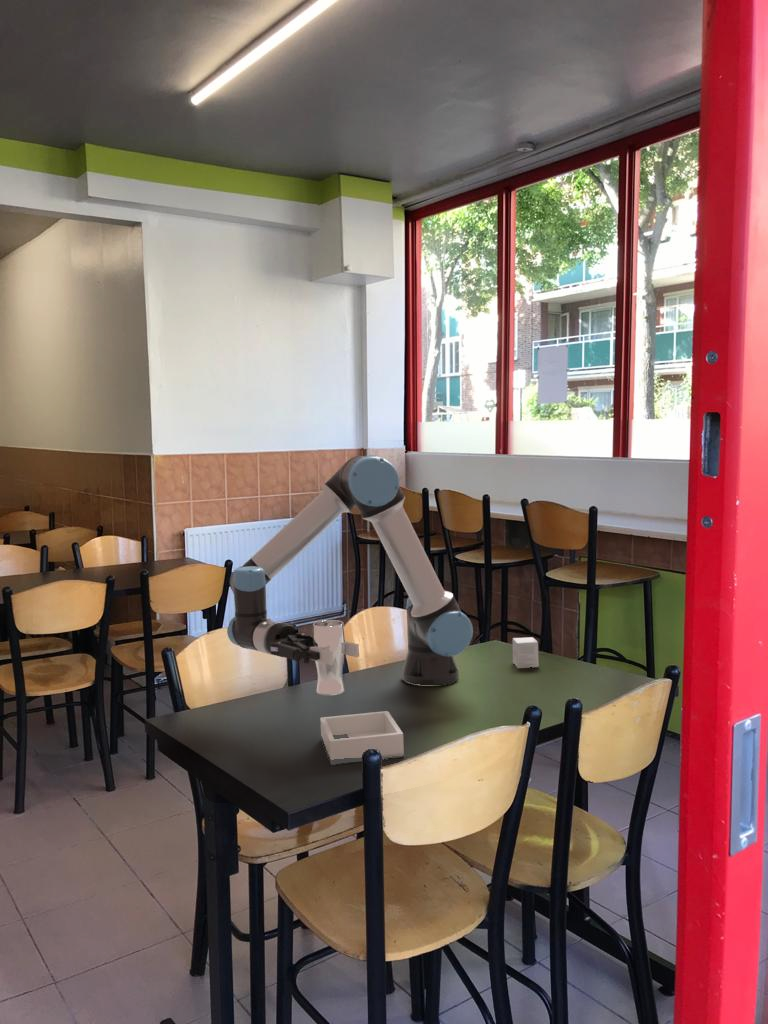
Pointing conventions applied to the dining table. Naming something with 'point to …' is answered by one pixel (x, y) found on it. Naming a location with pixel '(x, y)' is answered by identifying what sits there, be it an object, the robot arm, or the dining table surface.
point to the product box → (525, 652)
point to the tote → (362, 735)
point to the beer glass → (333, 639)
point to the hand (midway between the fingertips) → (344, 654)
